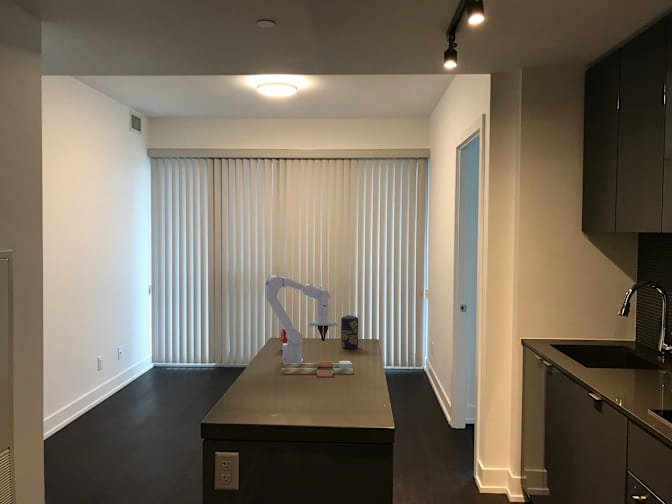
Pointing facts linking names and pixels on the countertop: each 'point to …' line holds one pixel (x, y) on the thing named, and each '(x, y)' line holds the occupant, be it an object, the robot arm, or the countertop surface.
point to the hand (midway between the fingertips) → (323, 340)
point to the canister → (349, 331)
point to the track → (312, 368)
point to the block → (344, 364)
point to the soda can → (283, 337)
